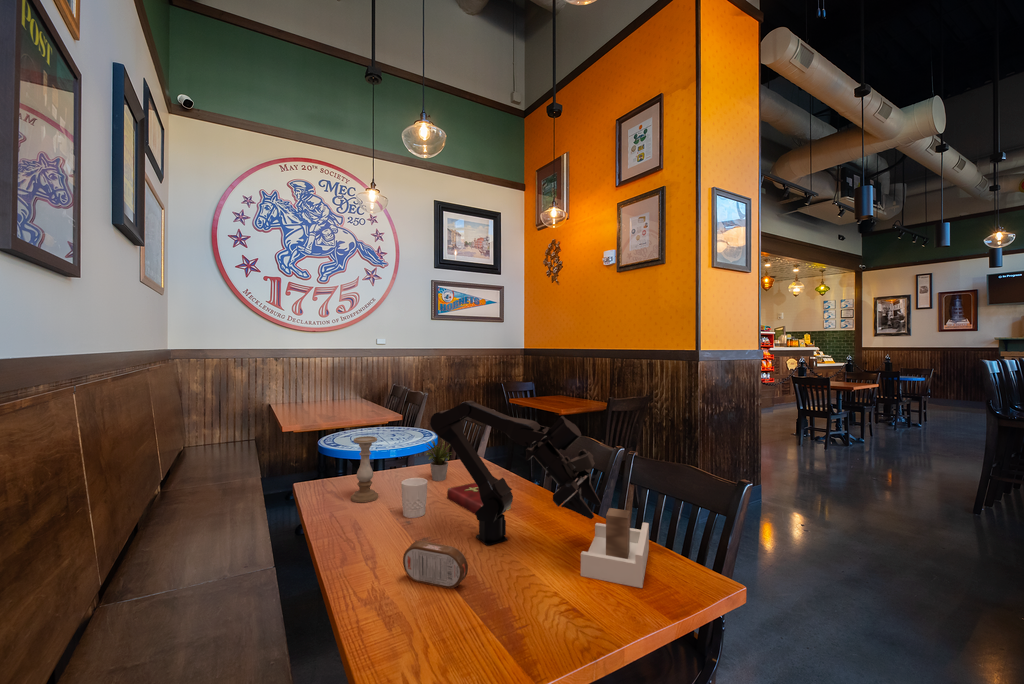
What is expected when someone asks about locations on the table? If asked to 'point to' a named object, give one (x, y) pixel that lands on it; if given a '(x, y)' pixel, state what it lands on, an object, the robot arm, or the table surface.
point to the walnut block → (618, 533)
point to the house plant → (438, 461)
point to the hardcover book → (467, 497)
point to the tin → (435, 564)
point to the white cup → (414, 497)
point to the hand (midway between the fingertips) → (596, 511)
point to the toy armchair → (614, 567)
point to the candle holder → (364, 472)
